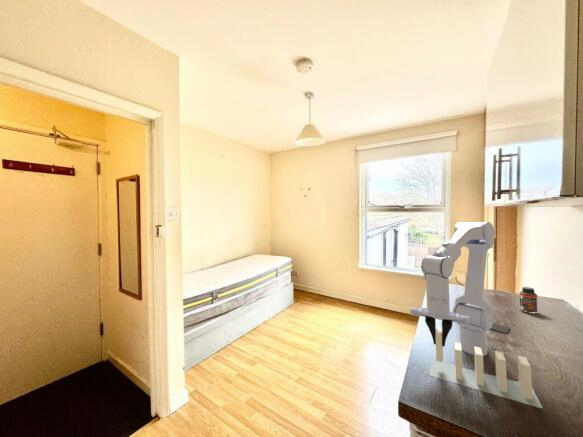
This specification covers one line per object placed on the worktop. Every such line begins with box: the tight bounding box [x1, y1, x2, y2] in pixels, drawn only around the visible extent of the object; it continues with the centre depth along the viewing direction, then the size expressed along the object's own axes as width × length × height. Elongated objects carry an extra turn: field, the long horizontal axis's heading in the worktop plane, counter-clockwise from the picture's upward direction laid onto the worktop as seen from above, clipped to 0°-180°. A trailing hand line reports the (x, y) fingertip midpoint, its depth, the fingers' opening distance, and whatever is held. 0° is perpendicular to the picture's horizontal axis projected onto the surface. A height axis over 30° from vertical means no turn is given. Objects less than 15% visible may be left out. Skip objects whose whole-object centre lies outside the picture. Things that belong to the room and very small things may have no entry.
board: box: [429, 359, 544, 410], centre depth 64 cm, size 9×22×1 cm, turn 57°
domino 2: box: [473, 346, 485, 386], centre depth 64 cm, size 4×2×8 cm, turn 146°
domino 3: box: [494, 350, 508, 393], centre depth 61 cm, size 4×2×8 cm, turn 146°
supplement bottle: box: [519, 286, 539, 312], centre depth 112 cm, size 6×6×11 cm
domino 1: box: [454, 341, 463, 380], centre depth 66 cm, size 4×2×8 cm, turn 146°
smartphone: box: [488, 323, 511, 335], centre depth 99 cm, size 7×1×15 cm
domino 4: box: [517, 355, 533, 400], centre depth 59 cm, size 4×2×8 cm, turn 146°
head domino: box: [435, 326, 444, 363], centre depth 69 cm, size 4×2×8 cm, turn 146°
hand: (439, 343), depth 69 cm, fingers closed on head domino, 1 cm apart
